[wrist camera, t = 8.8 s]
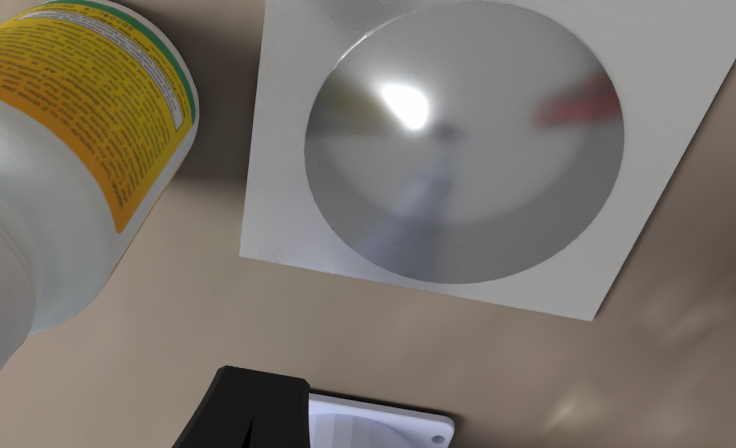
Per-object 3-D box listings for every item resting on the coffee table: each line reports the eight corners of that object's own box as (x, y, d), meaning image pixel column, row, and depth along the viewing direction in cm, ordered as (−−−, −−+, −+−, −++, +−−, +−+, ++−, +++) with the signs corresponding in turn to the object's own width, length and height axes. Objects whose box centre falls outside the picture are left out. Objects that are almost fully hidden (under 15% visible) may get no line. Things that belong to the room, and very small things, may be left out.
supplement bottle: (183, 198, 20) (30, 472, 12) (4, 139, 19) (-294, 391, 11) (223, 33, 17) (56, 249, 9) (14, -44, 16) (-381, 115, 8)
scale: (589, 316, 22) (593, 327, 22) (240, 251, 21) (237, 261, 21) (869, -199, 13) (884, -198, 13) (303, -343, 13) (300, -348, 12)
